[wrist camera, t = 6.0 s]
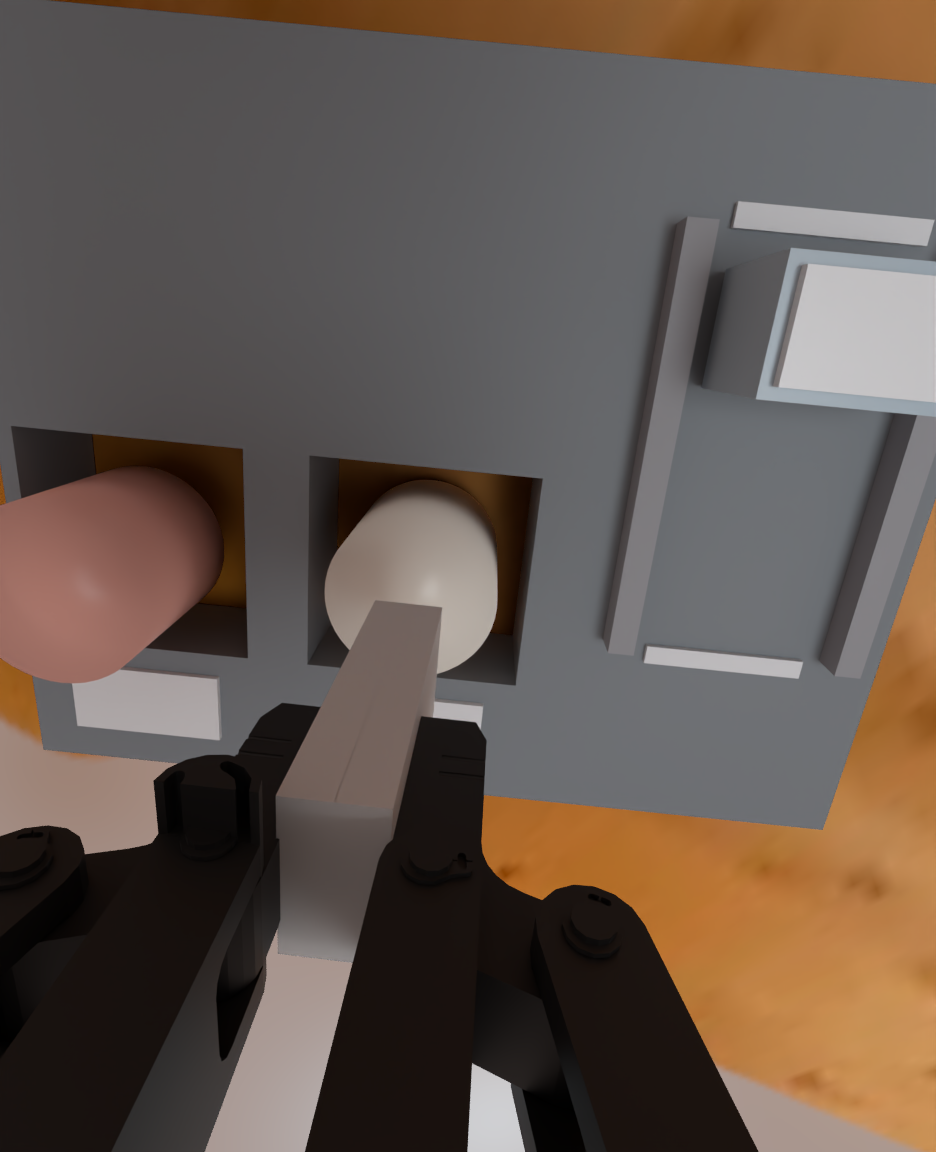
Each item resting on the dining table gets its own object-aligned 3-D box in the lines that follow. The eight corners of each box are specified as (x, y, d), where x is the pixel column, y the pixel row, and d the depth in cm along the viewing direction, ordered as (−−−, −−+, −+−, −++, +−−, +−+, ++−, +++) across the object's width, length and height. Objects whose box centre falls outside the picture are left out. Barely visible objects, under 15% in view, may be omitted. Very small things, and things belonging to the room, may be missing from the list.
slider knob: (725, 269, 17) (797, 245, 13) (916, 287, 17) (1048, 269, 13) (701, 388, 18) (760, 400, 14) (881, 405, 18) (993, 423, 14)
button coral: (64, 457, 21) (-65, 491, 16) (221, 473, 20) (139, 511, 16) (81, 604, 22) (-30, 673, 18) (226, 618, 22) (153, 692, 17)
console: (37, 57, 20) (-107, -34, 15) (961, 145, 19) (1110, 80, 15) (106, 693, 27) (24, 766, 22) (776, 762, 27) (836, 850, 22)
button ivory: (361, 473, 23) (326, 506, 18) (504, 487, 23) (506, 524, 18) (356, 605, 24) (323, 667, 20) (489, 618, 24) (488, 684, 20)
